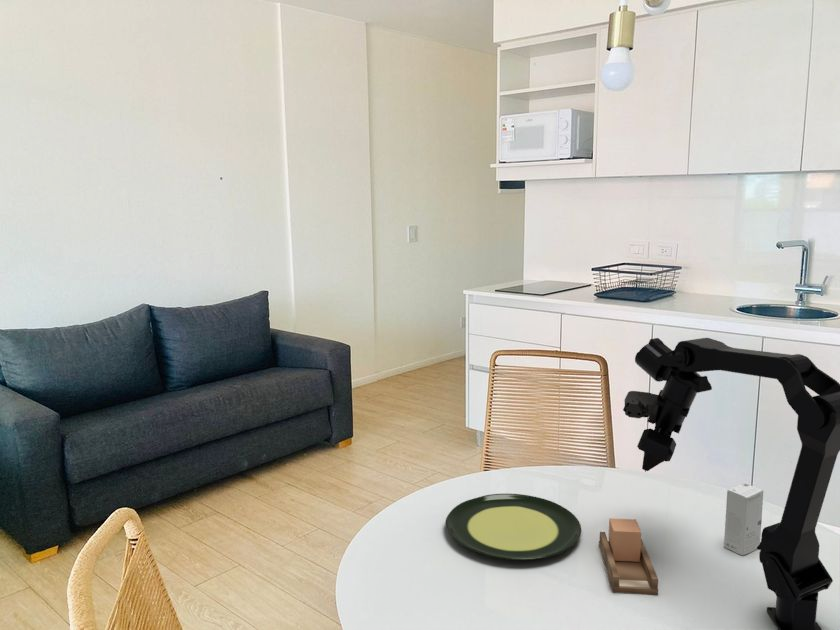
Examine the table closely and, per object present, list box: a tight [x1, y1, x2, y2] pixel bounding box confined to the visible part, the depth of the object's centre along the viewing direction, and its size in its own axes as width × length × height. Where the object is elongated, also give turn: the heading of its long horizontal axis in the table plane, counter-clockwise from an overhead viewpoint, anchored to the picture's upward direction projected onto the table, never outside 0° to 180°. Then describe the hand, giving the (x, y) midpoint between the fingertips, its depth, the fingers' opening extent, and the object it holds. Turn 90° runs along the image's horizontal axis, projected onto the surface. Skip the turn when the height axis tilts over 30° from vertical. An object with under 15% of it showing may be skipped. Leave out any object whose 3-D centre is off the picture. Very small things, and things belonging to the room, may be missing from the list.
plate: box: [445, 493, 582, 561], centre depth 138 cm, size 28×28×2 cm
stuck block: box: [608, 517, 642, 562], centre depth 126 cm, size 5×5×6 cm
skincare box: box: [723, 483, 764, 556], centre depth 130 cm, size 6×4×12 cm
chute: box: [598, 531, 659, 596], centre depth 123 cm, size 16×8×3 cm, turn 173°
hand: (649, 456), depth 133 cm, fingers open, 9 cm apart
